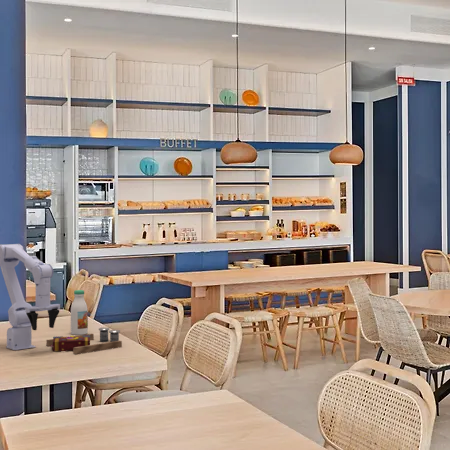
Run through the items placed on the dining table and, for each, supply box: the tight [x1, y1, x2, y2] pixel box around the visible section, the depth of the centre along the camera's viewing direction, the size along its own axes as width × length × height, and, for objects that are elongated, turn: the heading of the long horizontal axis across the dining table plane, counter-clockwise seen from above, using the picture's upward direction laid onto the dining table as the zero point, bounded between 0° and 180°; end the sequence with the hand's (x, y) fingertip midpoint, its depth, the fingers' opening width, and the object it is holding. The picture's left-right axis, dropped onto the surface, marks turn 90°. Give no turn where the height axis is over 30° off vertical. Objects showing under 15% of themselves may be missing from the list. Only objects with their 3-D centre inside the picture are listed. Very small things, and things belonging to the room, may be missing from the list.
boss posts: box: [98, 326, 121, 343], centre depth 290 cm, size 5×13×6 cm, turn 43°
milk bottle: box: [70, 289, 89, 336], centre depth 311 cm, size 8×8×20 cm
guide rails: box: [46, 333, 123, 355], centre depth 282 cm, size 22×23×2 cm
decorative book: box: [49, 335, 91, 352], centre depth 278 cm, size 11×16×5 cm
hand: (43, 328), depth 269 cm, fingers open, 7 cm apart
